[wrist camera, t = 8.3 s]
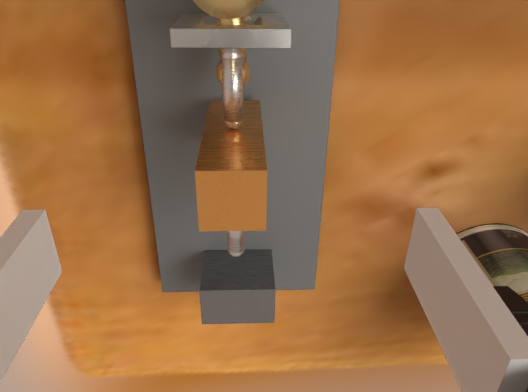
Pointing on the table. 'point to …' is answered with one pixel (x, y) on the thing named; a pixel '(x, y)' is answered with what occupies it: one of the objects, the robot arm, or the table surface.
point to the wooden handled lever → (232, 126)
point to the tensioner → (237, 287)
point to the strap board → (274, 130)
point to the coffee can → (500, 254)
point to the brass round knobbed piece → (230, 23)
